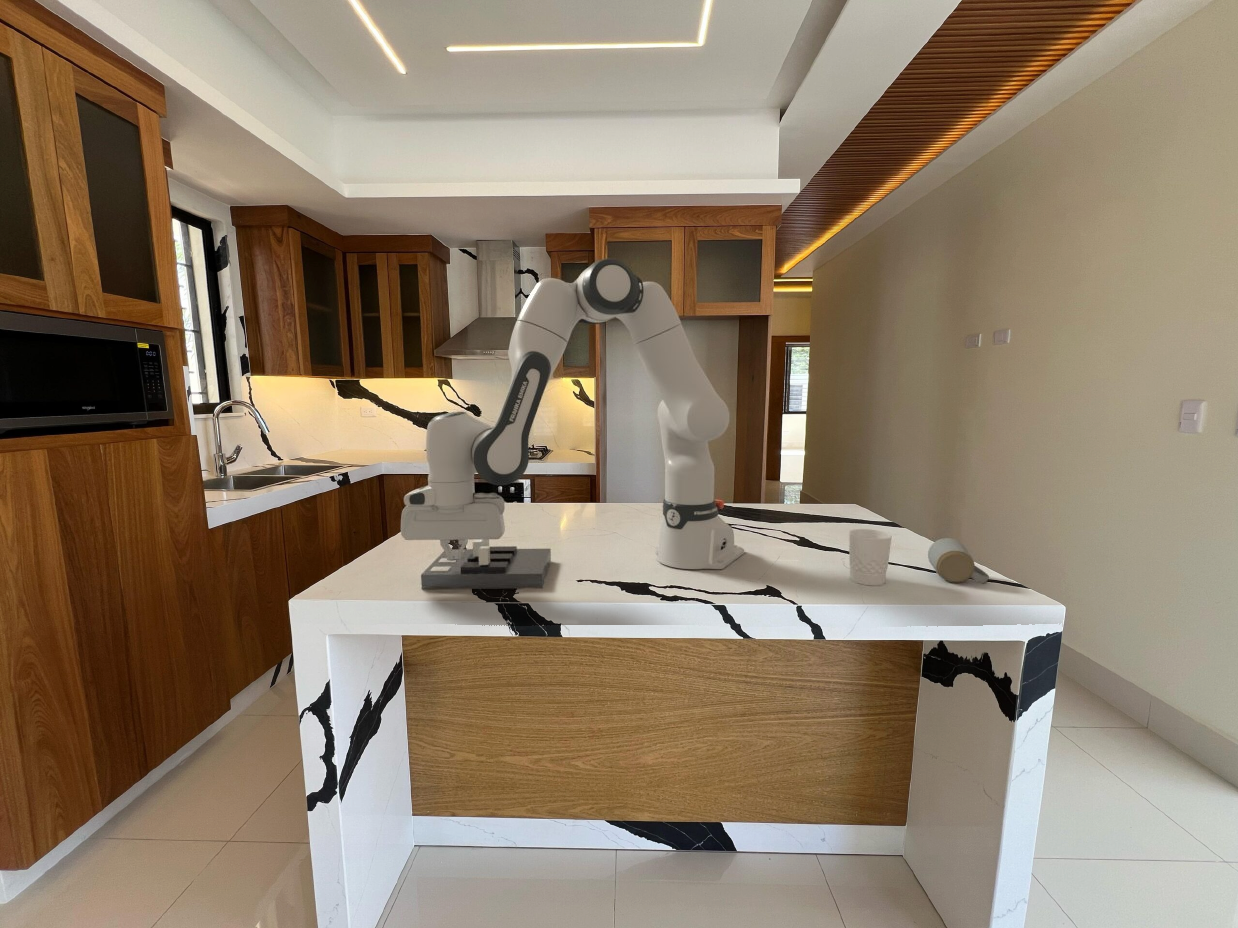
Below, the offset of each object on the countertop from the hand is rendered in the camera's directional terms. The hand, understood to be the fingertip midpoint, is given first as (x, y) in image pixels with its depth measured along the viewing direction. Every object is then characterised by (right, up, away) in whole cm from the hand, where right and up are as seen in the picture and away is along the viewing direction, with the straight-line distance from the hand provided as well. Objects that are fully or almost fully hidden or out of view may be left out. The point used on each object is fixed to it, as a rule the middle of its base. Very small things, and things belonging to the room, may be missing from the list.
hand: (455, 559), depth 113 cm
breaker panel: (+6, -4, +6) cm, 10 cm away
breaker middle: (+3, 0, +6) cm, 7 cm away
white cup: (+85, -5, +2) cm, 85 cm away
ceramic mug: (+105, -5, +4) cm, 105 cm away
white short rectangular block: (+3, +1, +11) cm, 12 cm away
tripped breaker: (+6, -1, 0) cm, 6 cm away
